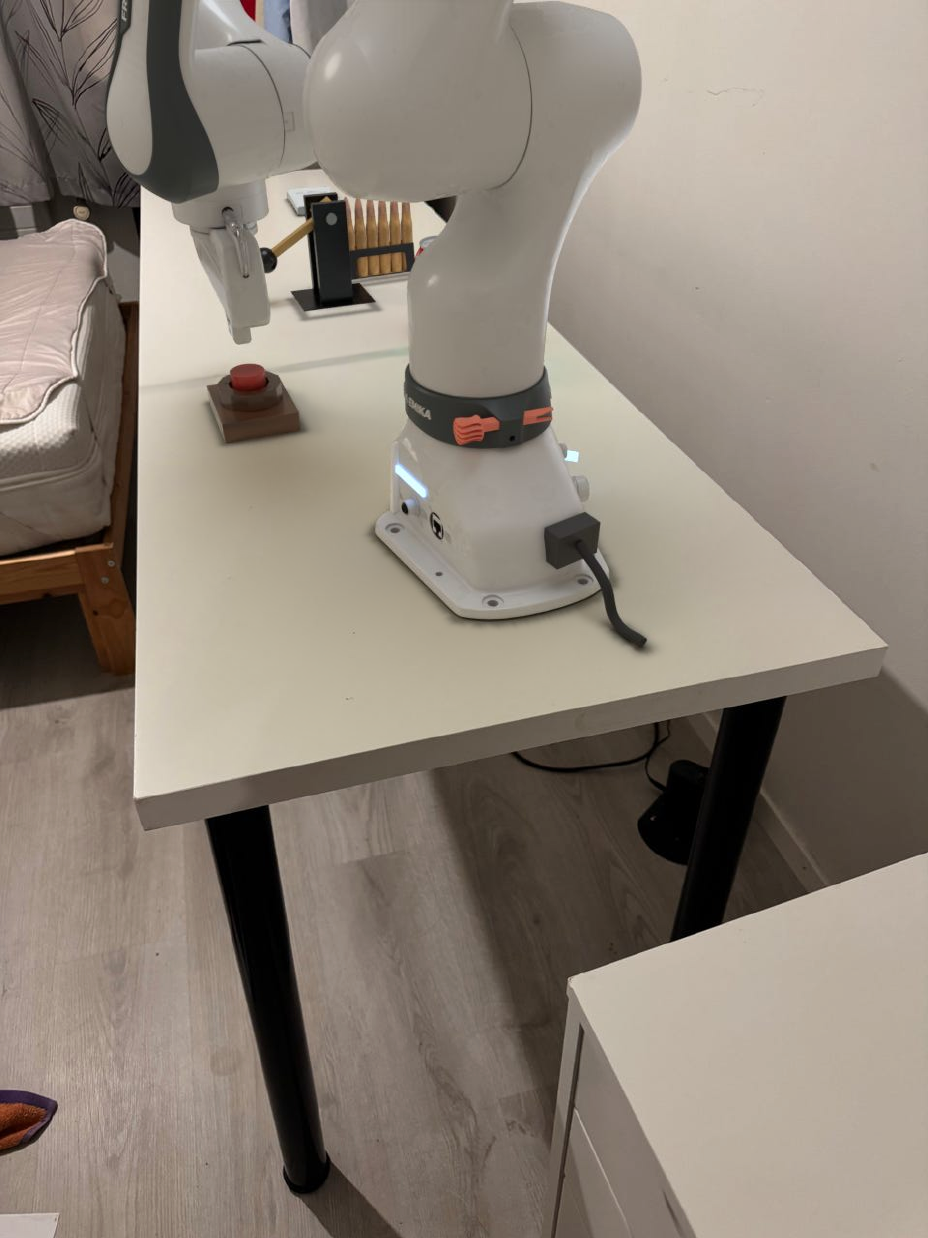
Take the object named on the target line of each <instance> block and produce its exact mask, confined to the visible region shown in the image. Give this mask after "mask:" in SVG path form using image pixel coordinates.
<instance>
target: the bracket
mask: <svg viewBox="0 0 928 1238" xmlns="http://www.w3.org/2000/svg"><path fill="white" fill-rule="evenodd" d="M325 197H328V198H329V199H330V200H331V201H326V202H320V201H321V200H323V199H324V198H325ZM303 199H304V209H305V215H304V218H305V222H306V221H308V220H309V219H310V218H311V217H312V222H313V230H312V231H311V232H309V233H308V234H307V235H306V237H307V239H306V240H307V247H308V259H309V270H310V277H311V278H310V279H311V287H312V288H305V289H297V290H296V289H295V290H291V291H290V294H291V295H292V296H293V298H294V299H295V301H296V303H298V305H299V306H300V308H301V309H302V310H303V312H304V313H305V312H311V311H318V310H319V311H320V310H326V309H327V310H328V309H334V308H335V309H336V308H341V307H349V306H359V305H364V304H365V305H366V304H373V303H377V301H376V299H374V297H373V296H372V295H371V294H370V293H369V291H367V289H365V287H364V285H362V284H361V282H354V283H353V280H352V279H351V265H350V251H349V237H348V224H347V210H346V201H344V199H339V194H338V192H336V191H333V192H331V193H320V194H309V195H303ZM338 199H339V200H338ZM310 209H311V211H310Z"/></svg>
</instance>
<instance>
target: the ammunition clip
mask: <svg viewBox="0 0 928 1238" xmlns="http://www.w3.org/2000/svg"><path fill="white" fill-rule="evenodd" d="M343 200H344V201H346V210H347V224H348V237H349V251H350V265H351V279H352V281H353V280H359V279H368V278H375V277H383V276H390V275H397V274H403V273H410V271H411V269H412V266H413V264H414V262H415V256H416V253H415V243H414V242H413V241H414V238H413V221H412V214H411V203H407V202H401V220H400V212H399V204H398V203H399V202H389V221H388V214H387V204H386V202H385V201H377V221H376V212H375V211H376V210H375V204H374V200H366V206H365V207H366V208H365V212H366V213H365V214H366V215H365V218H366V219H365V218H364V209H363V205H362V199H356V198H355V200H354V207H353V208H354V209H353V213H354V225H353V219H352V211H351V206H350V202H349V199H348V196H344V198H343ZM365 220H366V221H365Z"/></svg>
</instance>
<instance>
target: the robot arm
mask: <svg viewBox="0 0 928 1238" xmlns="http://www.w3.org/2000/svg"><path fill="white" fill-rule="evenodd" d="M514 1H515V0H353V1H352V3H351V4H350V6H349V7H348V8H347V9H346V11H345V12H344V14H343V15H342V16H341V17H340V18H339V19H338V20H337V21H336V22H335V24H334V25H333V26H332V27H331V28H330V29H329V30H328V31H327V32H326V33H325V34H324V35H323V36H322V37H321V38H320V39H319V41H318V43H317V44H316V45H315V48H314V50H313V52H312V54H309V52H307V51H306V50H305V49H304V48H303V47H301V46H300V45H298V44H295V43H288V42H286V41H284V40H282V39H281V38H279V37H277V36H276V35H274V34H272V33H271V32H269V31H268V30H267V29H265V28H263V27H262V26H261V25H260V24H258V22H256V21H255V20H254V19H253V18H252V17H250V16H249V15H248V13H247V11H245V8H244V6H243V5H242V3H241V0H117V5H116V7H117V9H116V29H115V39H114V48H113V54H112V60H111V64H110V68H109V73H108V79H107V84H106V89H105V94H104V95H105V96H104V123H105V128H106V135H107V138H108V141H109V144H110V147H111V149H112V153H113V155H114V157H115V159H116V161H117V162H118V164H119V166H120V167H121V169H122V170H123V171H124V172H125V173H126V174H127V175H128V176H129V177H130V178H131V179H132V180H133V181H135V182H136V183H137V184H138V185H140V186H141V187H142V188H144V189H145V190H147V191H148V192H150V193H151V194H153V195H155V196H156V197H159V198H160V199H162V200H165V201H167V202H169V203H170V205H171V211H172V215H173V218H174V219H175V220H176V221H177V222H179V223H181V224H183V225H185V226H189V232H190V236H191V237H192V241H193V245H194V248H195V251H196V254H197V257H198V260H199V262H200V265H201V267H202V268H203V270H204V272H205V275H206V276H207V278H208V280H209V282H210V284H211V286H212V288H213V290H214V292H215V293H216V296H217V298H218V300H219V302H220V304H221V306H222V308H223V310H224V314H225V316H226V321H227V328H228V332H229V334H230V336H231V338H232V340H233V342H234V344H236V345H247V344H250V343H251V342H252V340H253V338H252V332H251V329H253V328H260V327H265V326H268V325H269V324H270V323H271V318H272V317H271V316H272V315H271V313H272V312H271V305H270V304H271V303H270V297H269V293H268V286H267V279H266V273H264V267H263V261H262V257H261V252H260V248H261V247H260V245H259V242H258V240H257V238H256V237H255V235H257V234H258V232H259V226H258V221H261V220H263V219H264V218H266V217H267V216H268V214H269V212H270V208H269V201H268V200H269V199H268V192H267V191H268V190H267V184H266V180H267V179H269V178H272V177H276V176H282V175H285V174H289V173H294V172H298V171H300V170H304V169H306V168H308V167H310V166H313V165H316V164H318V165H319V167H320V168H321V170H322V171H323V173H324V174H325V176H326V177H327V178H328V179H329V180H330V182H332V184H333V185H334V186H335V187H336V188H337V189H338V190H340V192H341V193H343V194H344V195H345V196H347V197H349V198H352V199H355V200H356V199H360V200H364V201H367V200H373V201H376V202H378V201H385V203H386V202H387V203H390V202H398V203H402V202H407V203H410V204H411V203H412V204H417V203H421V202H422V203H423V202H428V201H433V200H434V201H435V200H438V199H443V198H449V197H454V196H458V198H457V201H456V204H455V205H454V209H453V211H452V213H451V215H450V217H449V219H448V221H447V222H446V224H445V226H444V227H443V229H442V230H441V231H440V232H439V234H437V235H438V236H437V237H436V238H435V239H434V240H433V241H432V242H431V243H430V244H429V245H428V246H427V247H426V248H425V249H424V250H423V251H422V252H421V254H420V255H419V256H418V258H417V259H416V261H415V262H414V264H413V266H412V269H411V271H410V272H409V275H408V278H407V284H406V300H407V301H406V302H407V331H408V332H407V334H408V335H407V336H408V360H409V361H408V364H407V365H406V367H405V370H404V382H403V397H404V406H405V408H404V409H405V410H404V411H405V414H406V415H407V418H406V421H405V423H404V425H403V427H402V429H401V430H400V432H399V433H398V435H397V437H396V438H395V439H394V440H393V443H392V444H391V446H390V470H389V471H390V475H389V476H390V479H389V480H390V482H389V483H390V484H389V509H388V510H387V511H385V512H384V513H382V515H380V517H378V518H377V520H376V521H375V531H374V532H375V533H374V534H375V535H376V536H377V537H378V538H379V540H380V541H382V543H384V544H385V545H386V546H387V547H388V549H390V550H391V551H392V552H393V553H394V554H395V556H397V557H398V559H400V560H401V561H402V562H403V563H404V564H405V566H407V567H408V569H410V570H411V571H412V572H413V573H414V574H415V575H416V576H417V578H419V579H420V580H421V581H422V582H423V583H424V584H425V585H426V586H427V587H428V588H429V589H430V590H431V591H432V592H433V593H434V595H436V596H437V597H438V598H439V599H440V601H442V602H443V603H444V604H445V605H446V606H447V607H448V608H449V609H450V610H451V611H452V612H453V613H454V614H456V615H457V616H458V617H461V618H468V619H475V620H501V619H511V618H520V617H525V616H530V615H536V614H540V613H544V612H549V611H551V610H555V609H559V608H562V607H567V606H568V605H572V604H575V603H577V602H579V601H582V600H584V599H586V598H588V597H591V596H592V595H594V594H595V593H597V592H598V591H600V590H601V593H602V597H603V601H604V608H605V612H606V616H607V618H608V620H609V622H610V624H611V626H612V627H613V629H614V630H616V631H617V633H618V634H619V635H621V636H622V637H623V638H625V639H627V640H629V641H631V642H632V643H634V644H635V645H637V646H638V647H639V648H643V647H644V646H645V645H646V644H647V641H648V638H647V637H645V636H644V635H642V633H639V632H637V631H636V630H634V629H632V628H630V627H629V626H628V625H626V623H624V621H623V619H622V618H621V616H620V614H619V612H618V608H617V604H616V600H615V593H614V589H613V586H612V584H611V581H610V568H609V567H608V564H607V562H606V561H605V558H604V556H603V554H602V553H601V550H600V549H599V540H600V531H601V524H602V522H601V521H600V520H598V519H597V518H595V517H594V516H592V515H591V514H589V513H588V512H586V511H584V508H583V504H582V503H585V502H587V501H588V500H589V498H590V483H589V480H588V478H587V476H586V475H583V474H579V475H572V474H571V472H570V468H569V466H568V464H567V461H568V462H575V463H578V461H579V452H578V451H574V450H568V446H567V444H566V443H565V442H564V443H563V442H561V443H559V440H558V437H557V435H556V433H555V430H554V427H553V426H552V422H553V411H554V407H553V406H552V397H553V396H552V391H551V390H552V388H551V386H550V382H549V374H548V368H547V367H546V365H545V353H546V342H547V341H546V340H547V329H548V321H549V311H550V301H551V295H552V294H551V292H552V287H553V281H554V276H555V272H556V267H557V264H558V260H559V257H560V253H561V251H562V248H563V246H564V243H565V239H566V236H567V234H568V231H569V229H570V227H571V224H572V222H573V220H574V219H575V218H574V217H575V216H576V214H577V211H578V209H579V207H580V205H581V202H582V201H583V199H584V197H585V195H586V193H587V191H588V189H589V187H590V186H591V184H592V182H593V180H594V179H595V177H596V176H597V175H598V173H599V172H600V170H601V169H602V168H603V167H604V165H606V163H607V162H608V160H610V158H611V157H612V156H613V155H614V154H615V153H616V152H617V151H618V150H619V149H620V148H621V146H622V145H623V144H624V143H625V142H626V140H627V139H628V138H629V136H630V134H631V132H632V130H633V128H634V127H635V123H636V120H637V118H638V114H639V110H640V107H641V100H642V94H643V93H642V92H643V75H642V74H643V73H642V65H641V60H640V56H639V52H638V49H637V46H636V44H635V41H634V39H633V37H632V35H631V33H630V32H629V30H628V29H627V28H626V26H625V25H624V24H623V23H622V22H621V20H619V19H618V18H617V17H615V16H614V15H612V14H610V13H607V12H604V11H601V10H597V9H594V8H591V7H588V6H583V5H578V4H574V3H569V2H566V1H562V0H561V1H560V0H545V1H529V2H527V1H526V2H515V3H514Z"/></svg>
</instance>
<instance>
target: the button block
mask: <svg viewBox="0 0 928 1238" xmlns="http://www.w3.org/2000/svg"><path fill="white" fill-rule="evenodd" d="M265 377H266V384H267V385H266V387H263V388H261V389H259V390H254V391H237V390H235V389H233V388H232V383H231V377H230V374H228V375H227V374H226V375H225V376H223V377H222V378H221V379H220V380H219V381H218V382H217V383H214V384H208V385H207V384H206V391H207V396H208V401H209V405H210V408H211V410H212V413H213V415H214V418H215V421H216V424H217V425H218V429H219V430H220V433H221V436H222V439H223V441H224V443H225V444H230V443H235V442H242V441H247V440H252V439H258V438H264V437H271V436H276V435H282V434H288V433H294V432H299V431H302V428H301V420H300V411H299V409H298V408H297V406H296V405H295V403H294V401H293V399H292V397H291V396H290V393H289V392H288V390H287V388H286V387H285V385H284V383H283V381H282V379H281V377H280V376H279V374H276V373H273V372H271V371H268V370H265Z"/></svg>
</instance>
